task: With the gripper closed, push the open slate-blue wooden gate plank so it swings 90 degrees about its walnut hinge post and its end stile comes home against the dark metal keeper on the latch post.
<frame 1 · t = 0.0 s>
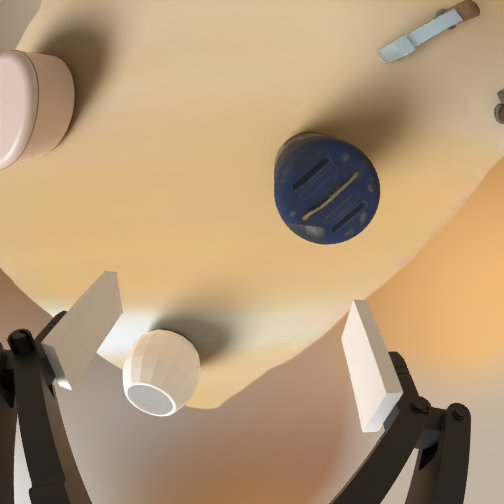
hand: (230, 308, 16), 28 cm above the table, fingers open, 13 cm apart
gateposts: (445, 19, 28), on the table
container: (41, 105, 37), on the table
cup: (171, 347, 55), on the table
canister: (308, 166, 40), on the table
gate: (423, 32, 27), point 4 cm above the table, hinge at -90.0°
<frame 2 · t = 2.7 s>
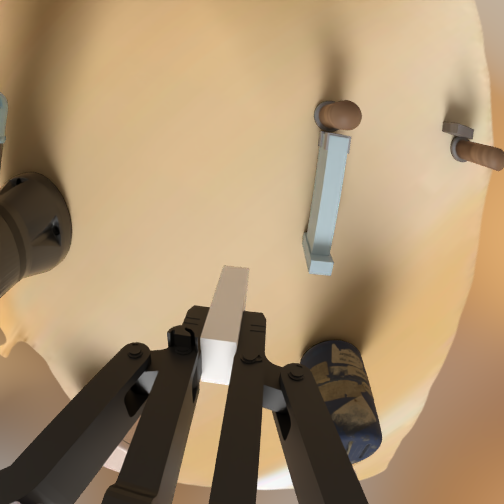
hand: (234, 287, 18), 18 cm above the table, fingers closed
gateposts: (329, 116, 30), on the table
container: (123, 413, 55), on the table
canister: (329, 357, 44), on the table
gate: (325, 198, 30), point 4 cm above the table, hinge at -90.0°
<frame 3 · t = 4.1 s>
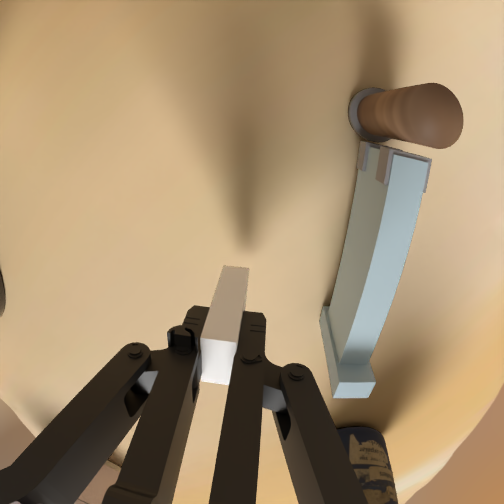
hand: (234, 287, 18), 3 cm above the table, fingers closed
gateposts: (374, 114, 16), on the table
container: (100, 467, 41), on the table
canister: (343, 440, 30), on the table
gate: (369, 267, 16), point 4 cm above the table, hinge at -90.0°
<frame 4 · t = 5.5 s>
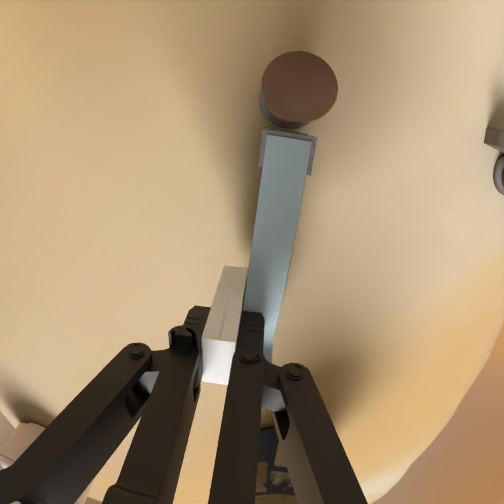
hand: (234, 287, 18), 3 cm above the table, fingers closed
gateposts: (288, 101, 16), on the table
container: (58, 446, 41), on the table
canister: (280, 440, 31), on the table
gate: (267, 257, 16), point 4 cm above the table, hinge at -88.2°, touching gripper
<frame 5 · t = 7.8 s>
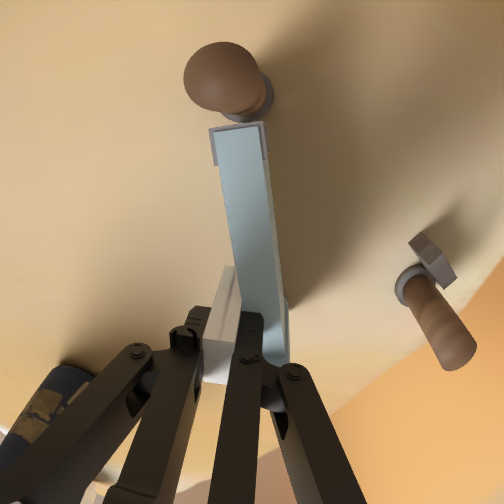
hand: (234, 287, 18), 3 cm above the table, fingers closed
gateposts: (244, 95, 16), on the table
cup: (75, 468, 45), on the table
canister: (88, 387, 29), on the table
gate: (259, 252, 16), point 4 cm above the table, hinge at -37.7°, touching gripper
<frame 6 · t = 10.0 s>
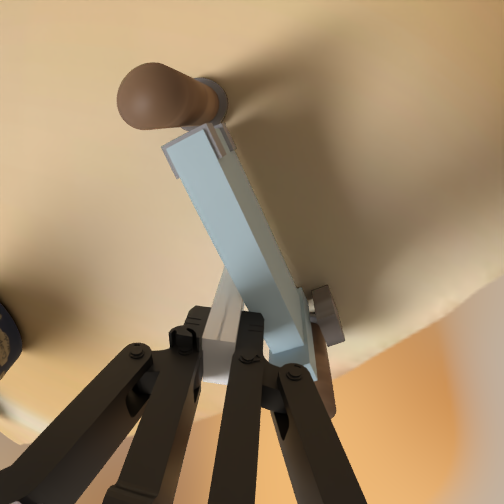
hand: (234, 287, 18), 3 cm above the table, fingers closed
gateposts: (200, 105, 17), on the table
canister: (1, 319, 27), on the table
gate: (251, 249, 16), point 4 cm above the table, hinge at -0.8°, touching gripper
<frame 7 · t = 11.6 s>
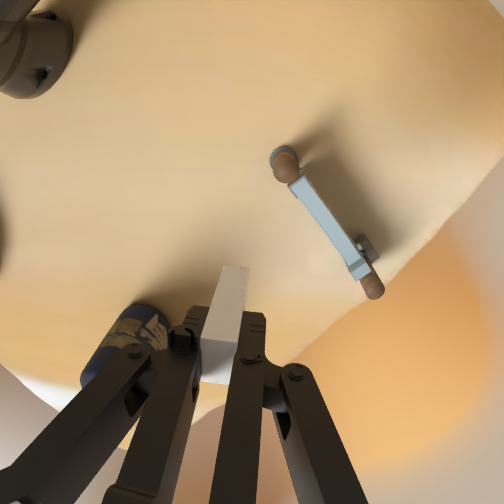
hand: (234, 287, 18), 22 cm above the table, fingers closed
gateposts: (283, 160, 37), on the table
canister: (148, 323, 49), on the table
gate: (328, 221, 35), point 4 cm above the table, hinge at -0.7°
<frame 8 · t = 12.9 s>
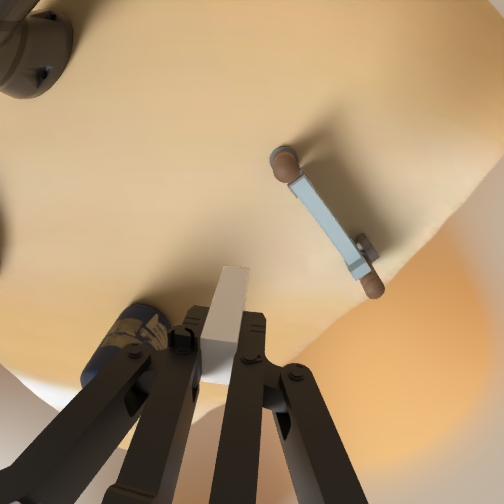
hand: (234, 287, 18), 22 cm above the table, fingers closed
gateposts: (283, 160, 37), on the table
canister: (148, 323, 49), on the table
gate: (328, 221, 35), point 4 cm above the table, hinge at -0.7°
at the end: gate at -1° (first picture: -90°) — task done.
